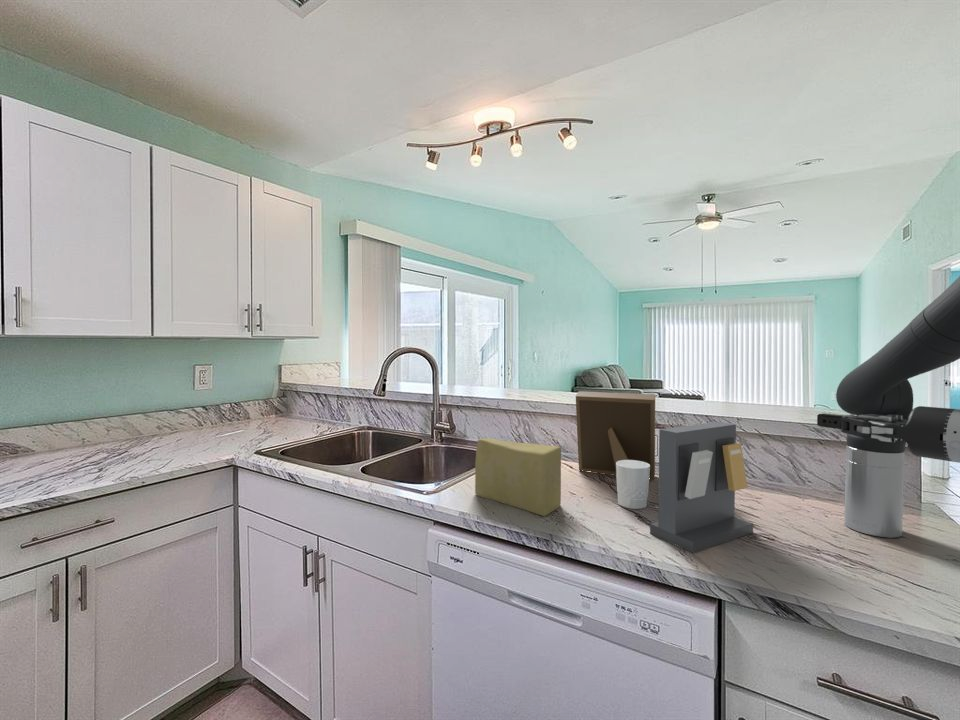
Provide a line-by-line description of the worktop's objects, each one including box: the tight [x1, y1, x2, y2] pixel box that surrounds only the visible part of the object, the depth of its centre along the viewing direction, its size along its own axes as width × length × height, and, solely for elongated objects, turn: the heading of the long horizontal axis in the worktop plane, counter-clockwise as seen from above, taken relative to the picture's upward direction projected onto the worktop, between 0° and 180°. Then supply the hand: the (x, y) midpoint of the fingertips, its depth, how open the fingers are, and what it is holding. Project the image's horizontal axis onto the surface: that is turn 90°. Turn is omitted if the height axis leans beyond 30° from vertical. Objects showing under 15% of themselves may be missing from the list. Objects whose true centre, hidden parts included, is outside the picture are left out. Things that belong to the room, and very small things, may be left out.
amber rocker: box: [722, 442, 748, 492], centre depth 92 cm, size 4×1×9 cm, turn 118°
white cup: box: [615, 460, 650, 510], centre depth 110 cm, size 8×8×10 cm
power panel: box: [649, 421, 754, 554], centre depth 93 cm, size 19×10×22 cm, turn 118°
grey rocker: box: [685, 450, 713, 499], centre depth 87 cm, size 4×1×9 cm, turn 118°
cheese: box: [474, 437, 562, 517], centre depth 111 cm, size 22×10×15 cm, turn 56°
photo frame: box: [575, 390, 656, 480], centre depth 131 cm, size 15×22×25 cm
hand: (819, 419), depth 79 cm, fingers closed
